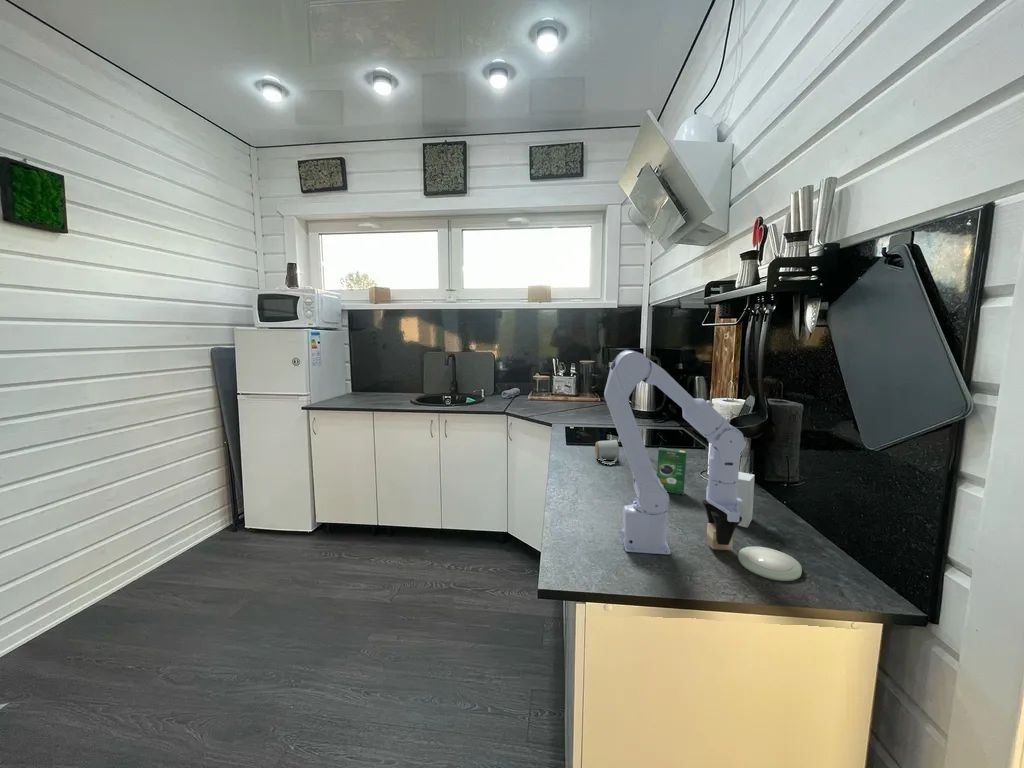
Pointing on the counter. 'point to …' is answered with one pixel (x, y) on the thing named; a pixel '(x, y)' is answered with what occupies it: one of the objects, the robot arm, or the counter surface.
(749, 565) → the dish
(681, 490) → the coffee box
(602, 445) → the ceramic mug
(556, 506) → the counter surface
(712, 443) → the robot arm
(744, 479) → the skincare box
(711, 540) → the block
